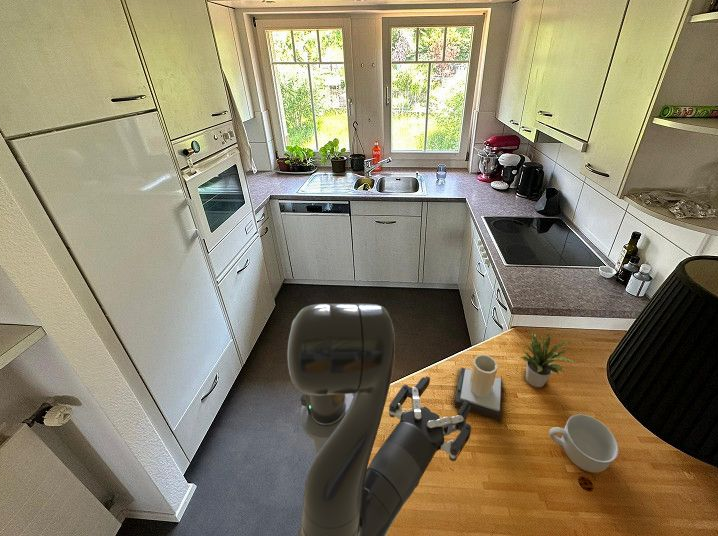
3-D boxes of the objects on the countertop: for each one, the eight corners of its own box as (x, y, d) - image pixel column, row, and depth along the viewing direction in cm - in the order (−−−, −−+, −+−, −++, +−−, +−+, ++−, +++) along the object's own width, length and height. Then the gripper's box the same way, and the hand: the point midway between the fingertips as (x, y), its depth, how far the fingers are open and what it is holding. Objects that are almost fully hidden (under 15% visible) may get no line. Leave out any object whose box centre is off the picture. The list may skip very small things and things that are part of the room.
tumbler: (467, 393, 90) (472, 369, 86) (470, 375, 96) (475, 351, 91) (490, 400, 88) (496, 376, 84) (492, 382, 94) (498, 357, 89)
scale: (454, 406, 90) (455, 399, 89) (460, 372, 100) (461, 365, 99) (499, 420, 87) (501, 413, 85) (501, 384, 97) (502, 376, 95)
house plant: (573, 381, 97) (589, 342, 90) (555, 412, 89) (571, 371, 81) (526, 355, 106) (537, 317, 99) (506, 380, 98) (517, 341, 90)
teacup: (604, 443, 81) (615, 424, 78) (611, 489, 73) (623, 470, 69) (544, 421, 87) (551, 402, 83) (543, 461, 78) (551, 441, 74)
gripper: (441, 480, 47) (484, 398, 58) (366, 422, 54) (417, 359, 66) (437, 505, 50) (478, 423, 61) (367, 447, 58) (415, 384, 69)
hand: (447, 390), depth 63 cm, fingers open, 8 cm apart
